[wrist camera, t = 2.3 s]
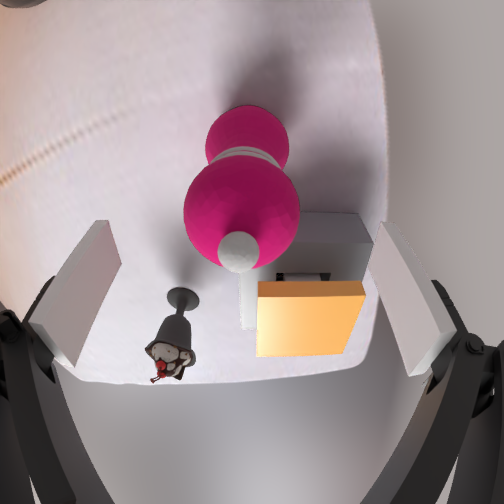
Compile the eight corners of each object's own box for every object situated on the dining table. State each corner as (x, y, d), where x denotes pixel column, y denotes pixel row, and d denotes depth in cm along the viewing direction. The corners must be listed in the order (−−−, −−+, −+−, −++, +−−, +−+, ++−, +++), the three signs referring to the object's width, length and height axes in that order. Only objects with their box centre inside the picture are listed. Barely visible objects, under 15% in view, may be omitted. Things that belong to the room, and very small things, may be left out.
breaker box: (240, 210, 33) (237, 241, 28) (358, 213, 33) (373, 243, 28) (242, 296, 42) (240, 329, 37) (337, 295, 41) (345, 327, 37)
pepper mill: (239, 86, 24) (208, 142, 9) (299, 128, 27) (362, 251, 11) (199, 142, 28) (127, 277, 12) (256, 179, 31) (256, 338, 15)
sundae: (166, 277, 40) (139, 370, 28) (210, 293, 41) (197, 387, 30) (157, 304, 43) (133, 389, 31) (196, 318, 45) (183, 404, 33)
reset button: (257, 248, 31) (257, 297, 25) (348, 249, 31) (366, 295, 25) (256, 310, 37) (256, 356, 31) (332, 309, 37) (341, 353, 31)
